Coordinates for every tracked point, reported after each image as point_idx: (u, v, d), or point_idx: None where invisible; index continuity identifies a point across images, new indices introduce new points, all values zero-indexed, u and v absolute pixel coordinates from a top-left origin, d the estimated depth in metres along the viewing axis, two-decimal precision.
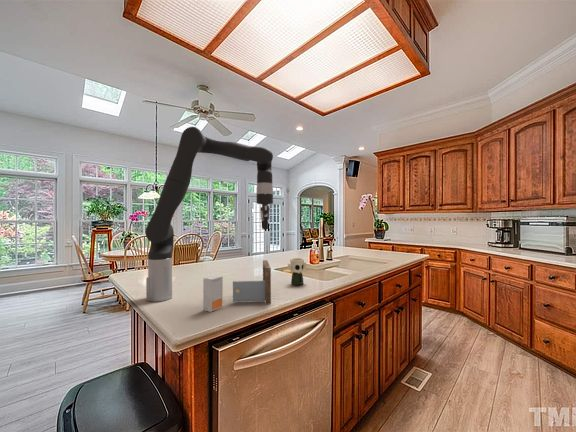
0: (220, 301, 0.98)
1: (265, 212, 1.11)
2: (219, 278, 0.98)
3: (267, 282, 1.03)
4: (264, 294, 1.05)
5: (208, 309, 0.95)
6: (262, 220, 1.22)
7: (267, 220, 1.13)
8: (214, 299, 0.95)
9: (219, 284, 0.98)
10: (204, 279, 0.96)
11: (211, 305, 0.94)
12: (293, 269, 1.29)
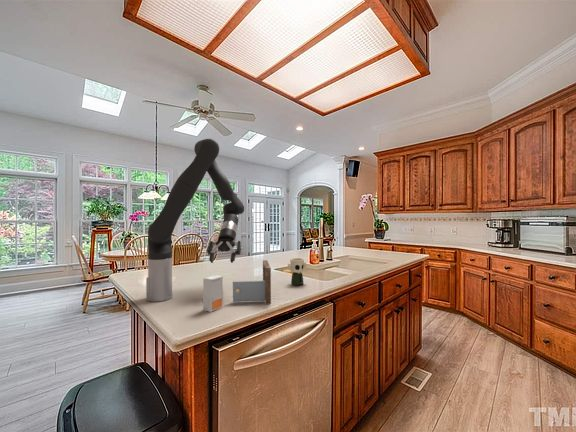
0: (220, 301, 0.98)
1: (240, 247, 1.14)
2: (219, 278, 0.98)
3: (267, 282, 1.03)
4: (264, 294, 1.05)
5: (208, 309, 0.95)
6: None
7: None
8: (214, 299, 0.95)
9: (219, 284, 0.98)
10: (204, 279, 0.96)
11: (211, 305, 0.94)
12: (293, 269, 1.29)
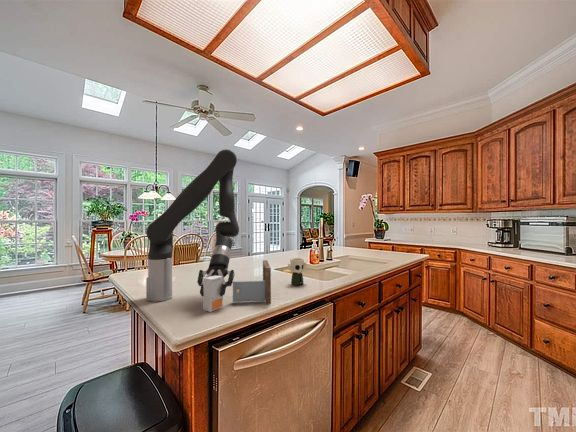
0: (220, 301, 0.98)
1: (232, 277, 1.01)
2: (219, 278, 0.98)
3: (267, 282, 1.03)
4: (264, 294, 1.05)
5: (208, 309, 0.95)
6: None
7: (225, 287, 0.99)
8: (214, 298, 0.95)
9: (219, 284, 0.98)
10: (204, 279, 0.96)
11: (211, 305, 0.94)
12: (293, 269, 1.29)
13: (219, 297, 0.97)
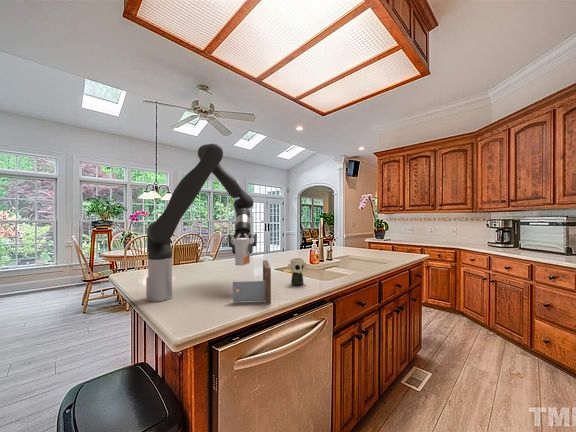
0: (248, 258, 1.20)
1: (256, 239, 1.23)
2: (247, 239, 1.19)
3: (267, 282, 1.03)
4: (264, 294, 1.05)
5: (240, 263, 1.16)
6: None
7: (251, 246, 1.21)
8: (245, 255, 1.17)
9: (247, 244, 1.19)
10: (236, 240, 1.17)
11: (243, 260, 1.16)
12: (293, 269, 1.29)
13: (247, 254, 1.19)
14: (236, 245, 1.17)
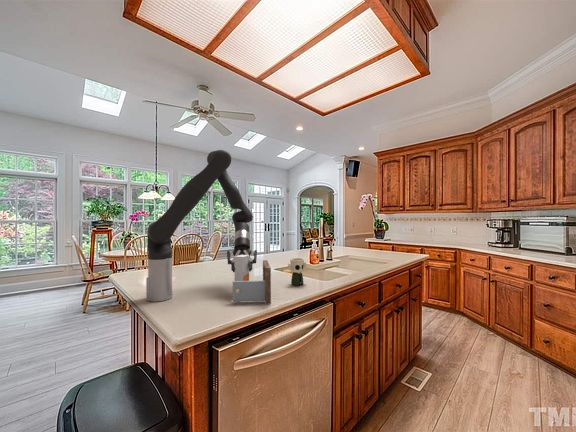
0: (248, 276, 1.16)
1: (256, 256, 1.19)
2: (247, 256, 1.15)
3: (267, 282, 1.03)
4: (264, 294, 1.05)
5: None
6: None
7: (251, 264, 1.17)
8: (244, 273, 1.13)
9: (247, 261, 1.15)
10: (235, 257, 1.13)
11: (242, 279, 1.12)
12: (293, 269, 1.29)
13: (247, 272, 1.15)
14: (236, 263, 1.13)
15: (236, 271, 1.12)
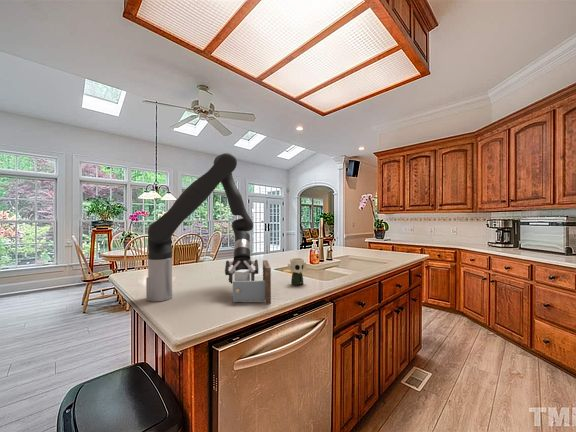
0: None
1: (257, 266, 1.14)
2: (248, 271, 1.10)
3: (267, 282, 1.03)
4: (264, 294, 1.05)
5: None
6: (231, 273, 1.10)
7: (253, 274, 1.12)
8: None
9: (248, 276, 1.10)
10: (235, 272, 1.07)
11: None
12: (293, 269, 1.29)
13: None
14: (236, 278, 1.07)
15: None
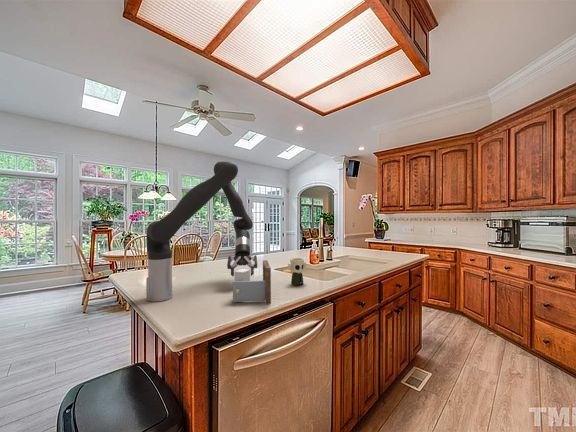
0: None
1: (256, 261, 1.27)
2: (248, 271, 1.10)
3: (267, 282, 1.03)
4: (264, 294, 1.05)
5: None
6: (232, 267, 1.22)
7: None
8: None
9: (248, 276, 1.10)
10: (235, 272, 1.07)
11: None
12: (293, 269, 1.29)
13: None
14: (236, 278, 1.07)
15: None
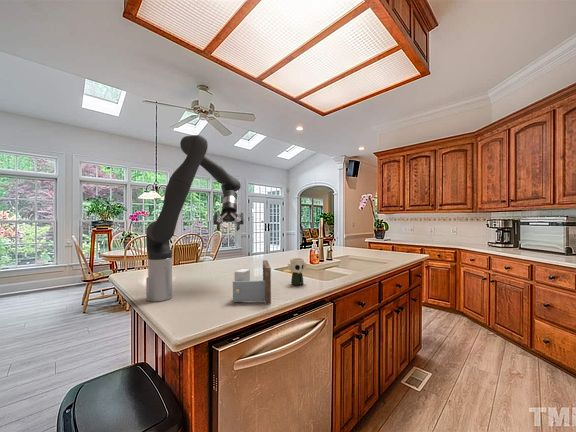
0: None
1: None
2: (248, 271, 1.10)
3: (267, 282, 1.03)
4: (264, 294, 1.05)
5: None
6: (218, 222, 1.23)
7: None
8: None
9: (248, 276, 1.10)
10: (235, 272, 1.07)
11: None
12: (293, 269, 1.29)
13: None
14: (236, 278, 1.07)
15: None
